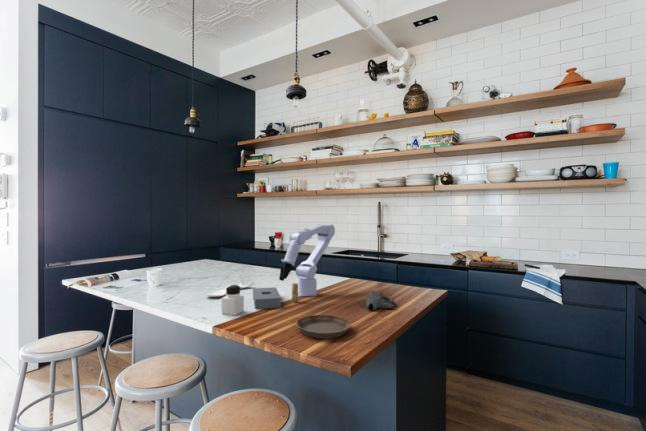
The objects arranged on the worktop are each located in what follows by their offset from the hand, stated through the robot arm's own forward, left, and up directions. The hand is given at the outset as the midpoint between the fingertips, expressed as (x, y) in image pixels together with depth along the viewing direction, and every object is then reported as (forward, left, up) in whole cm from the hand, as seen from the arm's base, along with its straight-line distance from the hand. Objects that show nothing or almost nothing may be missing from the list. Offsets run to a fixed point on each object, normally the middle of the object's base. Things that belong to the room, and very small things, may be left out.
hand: (282, 279), depth 170 cm
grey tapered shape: (-46, +15, -12) cm, 50 cm away
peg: (-6, +1, -11) cm, 13 cm away
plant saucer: (-10, +43, -12) cm, 46 cm away
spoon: (+26, -26, -12) cm, 38 cm away
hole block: (+8, -2, -11) cm, 14 cm away
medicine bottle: (+24, +12, -12) cm, 29 cm away
